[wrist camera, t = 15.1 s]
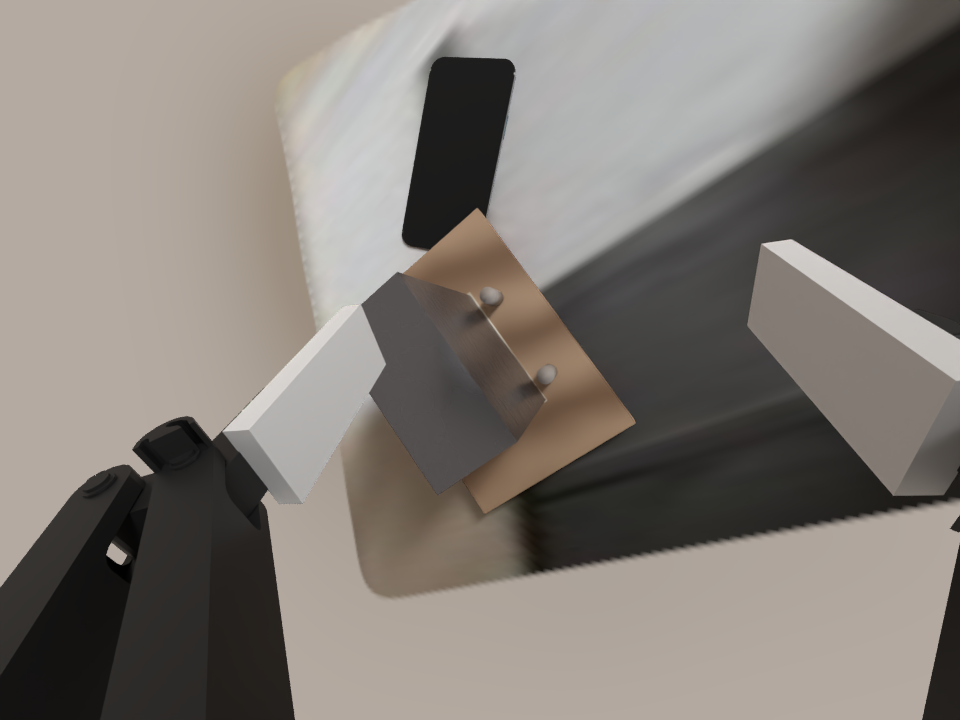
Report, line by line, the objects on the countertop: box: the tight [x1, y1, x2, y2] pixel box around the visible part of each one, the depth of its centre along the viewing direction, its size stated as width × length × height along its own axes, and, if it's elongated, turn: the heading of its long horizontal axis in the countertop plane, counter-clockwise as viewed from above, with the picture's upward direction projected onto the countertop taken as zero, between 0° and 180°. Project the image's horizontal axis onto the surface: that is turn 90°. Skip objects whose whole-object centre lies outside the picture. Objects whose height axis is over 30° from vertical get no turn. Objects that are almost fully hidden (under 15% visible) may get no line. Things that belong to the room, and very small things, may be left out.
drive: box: [361, 272, 546, 495], centre depth 25 cm, size 10×5×12 cm, turn 37°
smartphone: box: [402, 57, 516, 249], centre depth 32 cm, size 7×1×15 cm
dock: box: [403, 208, 636, 514], centre depth 30 cm, size 20×14×4 cm
